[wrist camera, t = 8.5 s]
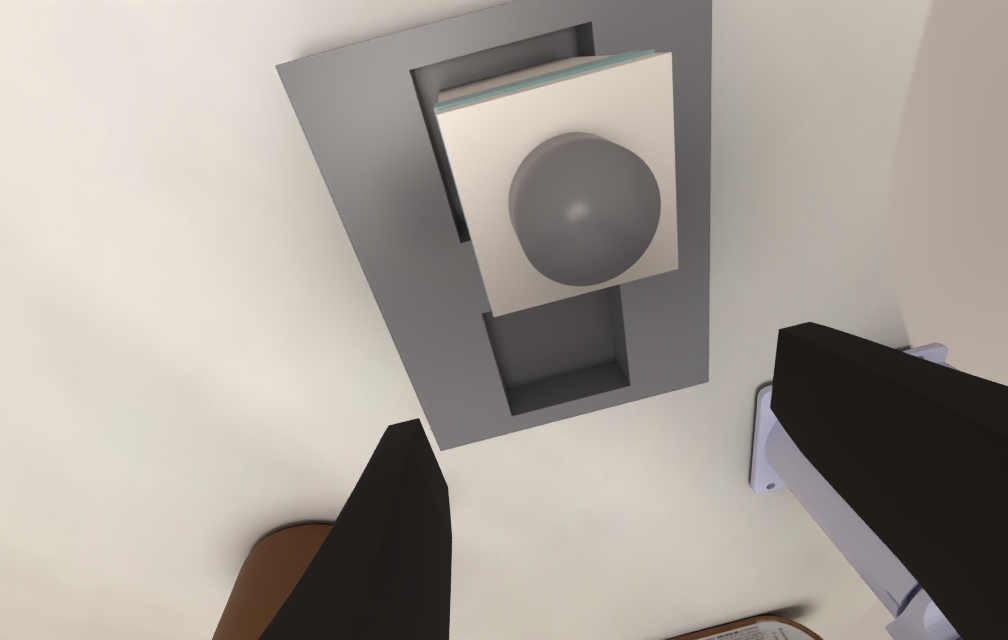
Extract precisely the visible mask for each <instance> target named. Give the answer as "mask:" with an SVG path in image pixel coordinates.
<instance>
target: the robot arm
mask: <svg viewBox="0 0 1008 640" xmlns="http://www.w3.org/2000/svg"><path fill="white" fill-rule="evenodd" d="M947 351H948V349H947V347H946V346H944V345H942V344H940V343H933V344H929V345H925V346H921V347H917V348H913V349H909V350H905V351H899V350H896V349H893V348H890V347H887V346H884V345H881V344H878V343H875V342H873V341H870V340H867V339H864V338H861V337H858V336H855V335H852V334H849V333H846V332H843V331H839V330H836V329H833V328H830V327H827V326H823V325H820V324H816V323H812V322H807V323H803V324H799V325H795V326H791V327H787V328H783V329H779V333H778V342H777V350H776V359H775V368H774V377H773V385H770V386H767V387H764V388H763V389H761V390H760V392H759V394H758V399H757V411H756V423H755V435H754V447H753V459H752V471H751V483H750V487H751V489H752V490H753V491H754V492H755V493H757V494H761V493H766V492H769V491H773V490H777V489H781V488H785V487H788V488H789V489H790V491H791V492H792V493H793V494H794V496H795V497H796V498H797V499H798V500H799V502H800V503H801V504H802V505H803V507H804V508H805V509H806V510H807V511H808V513H809V514H810V515H811V516H812V518H813V519H814V520H815V521H816V522H817V524H818V525H819V526H820V527H821V529H822V530H823V531H824V532H825V533H826V535H827V536H828V537H829V538H830V540H831V541H832V542H833V543H834V544H835V546H836V547H837V548H838V549H839V551H840V552H841V553H842V554H843V555H844V557H845V558H846V559H847V560H848V562H849V563H850V564H851V565H852V566H853V568H854V569H855V570H856V571H857V573H858V574H859V575H860V576H861V578H862V579H863V580H864V581H865V582H866V584H867V585H868V586H869V587H870V589H871V590H872V591H873V592H874V593H875V595H876V596H877V597H878V598H879V600H880V601H881V602H882V603H883V604H884V606H885V607H886V608H887V609H888V610H889V612H890V613H891V614H892V615H893V617H894V618H895V620H894V621H892V622H891V623H889V624H888V625H887V626H886V627H885V629H886V630H887V631H888V633H889V634H890V635H891V636H892V637H893V639H894V640H1008V386H1005V385H1002V384H999V383H996V382H992V381H989V380H986V379H983V378H980V377H977V376H973V375H970V374H967V373H964V372H961V371H959V370H957V369H956V368H954V367H952V366H950V365H949V364H947V363H945V362H944V361H945V358H946V355H947ZM451 559H452V531H451V517H450V505H449V494H448V486H447V484H446V481H445V479H444V477H443V474H442V472H441V469H440V467H439V465H438V462H437V460H436V458H435V455H434V453H433V450H432V448H431V446H430V443H429V441H428V439H427V436H426V434H425V431H424V429H423V427H422V424H421V422H420V420H419V418H418V419H414V420H410V421H405V422H401V423H397V424H393V425H389V426H388V428H387V429H386V431H385V433H384V434H383V436H382V438H381V440H380V442H379V444H378V445H377V447H376V449H375V451H374V453H373V455H372V457H371V458H370V460H369V462H368V464H367V466H366V468H365V470H364V471H363V473H362V475H361V477H360V479H359V481H358V482H357V484H356V486H355V488H354V490H353V491H352V493H351V495H350V497H349V498H348V500H347V502H346V504H345V505H344V507H343V509H342V511H341V512H340V514H339V516H338V518H337V519H336V521H335V523H334V524H333V526H332V528H331V530H330V531H329V533H328V535H327V536H326V538H325V540H324V541H323V543H322V544H321V546H320V547H319V549H318V551H317V552H316V554H315V555H314V557H313V559H312V560H311V562H310V563H309V565H308V566H307V568H306V570H305V571H304V573H303V574H302V576H301V577H300V579H299V581H298V582H297V584H296V585H295V587H294V588H293V590H292V591H291V593H290V594H289V596H288V597H287V599H286V600H285V602H284V603H283V605H282V606H281V608H280V609H279V611H278V612H277V613H276V615H275V616H274V618H273V619H272V621H271V622H270V623H269V625H268V626H267V628H266V629H265V630H264V632H263V633H262V635H261V636H260V637H259V639H258V640H449V624H450V594H451Z"/></svg>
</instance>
